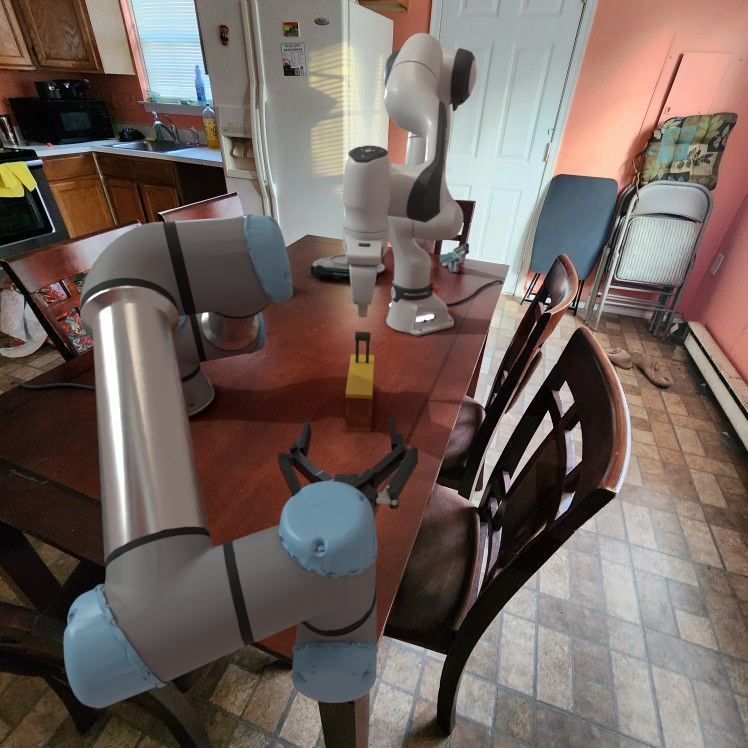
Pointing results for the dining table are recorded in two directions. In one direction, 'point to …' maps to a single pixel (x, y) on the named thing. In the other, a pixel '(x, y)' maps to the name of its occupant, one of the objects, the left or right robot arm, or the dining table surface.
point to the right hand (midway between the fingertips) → (364, 305)
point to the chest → (358, 414)
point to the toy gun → (455, 257)
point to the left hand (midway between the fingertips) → (350, 425)
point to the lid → (361, 370)
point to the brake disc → (335, 268)
